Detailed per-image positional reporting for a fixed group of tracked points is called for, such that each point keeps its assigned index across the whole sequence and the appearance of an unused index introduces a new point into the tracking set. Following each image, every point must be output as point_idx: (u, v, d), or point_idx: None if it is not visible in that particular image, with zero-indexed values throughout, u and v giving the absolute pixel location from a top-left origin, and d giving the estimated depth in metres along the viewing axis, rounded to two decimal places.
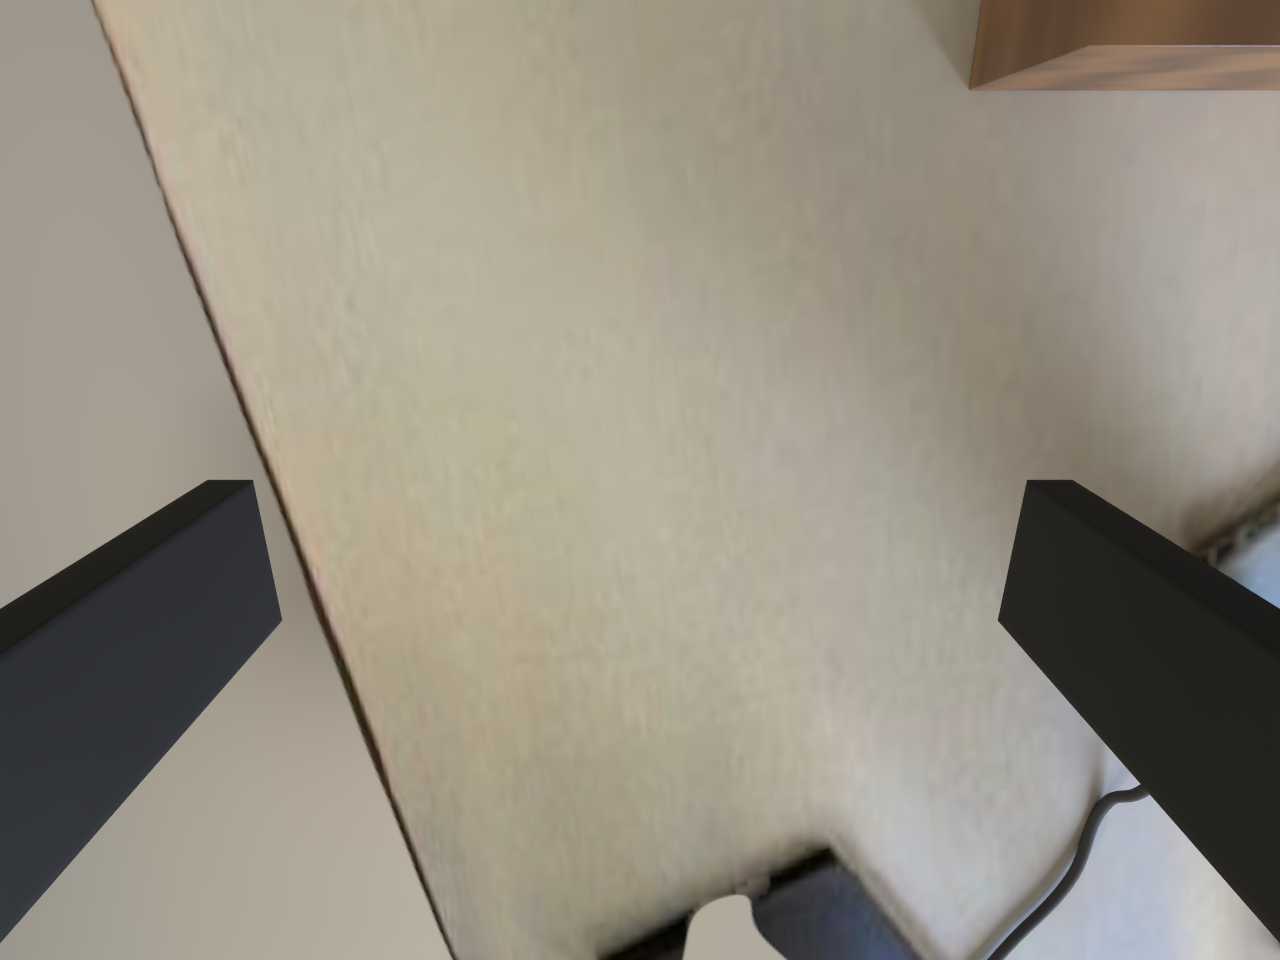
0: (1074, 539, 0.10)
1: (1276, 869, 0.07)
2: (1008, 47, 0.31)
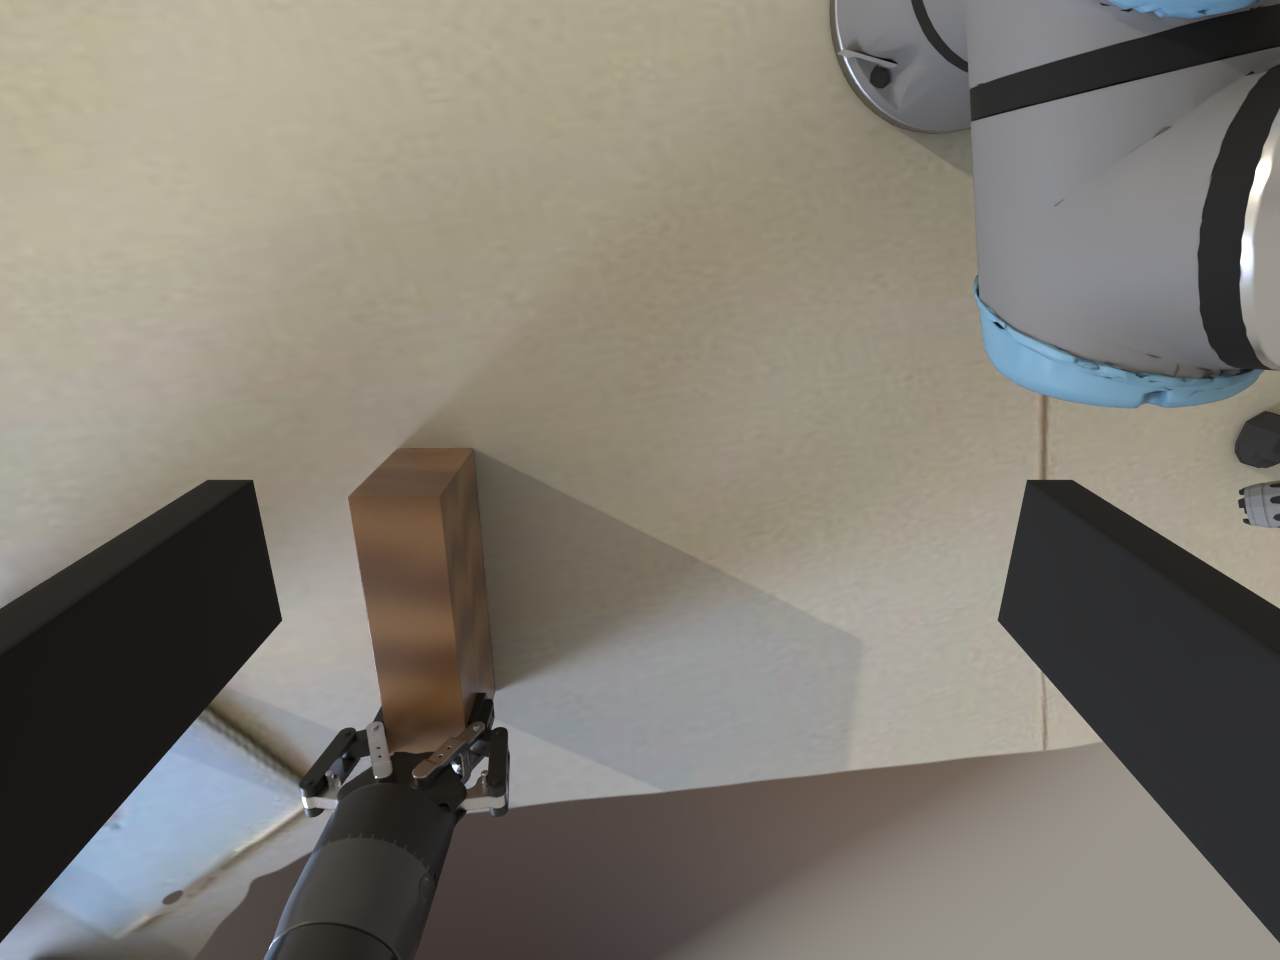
0: (1074, 539, 0.10)
1: (1276, 869, 0.07)
2: (396, 464, 0.51)
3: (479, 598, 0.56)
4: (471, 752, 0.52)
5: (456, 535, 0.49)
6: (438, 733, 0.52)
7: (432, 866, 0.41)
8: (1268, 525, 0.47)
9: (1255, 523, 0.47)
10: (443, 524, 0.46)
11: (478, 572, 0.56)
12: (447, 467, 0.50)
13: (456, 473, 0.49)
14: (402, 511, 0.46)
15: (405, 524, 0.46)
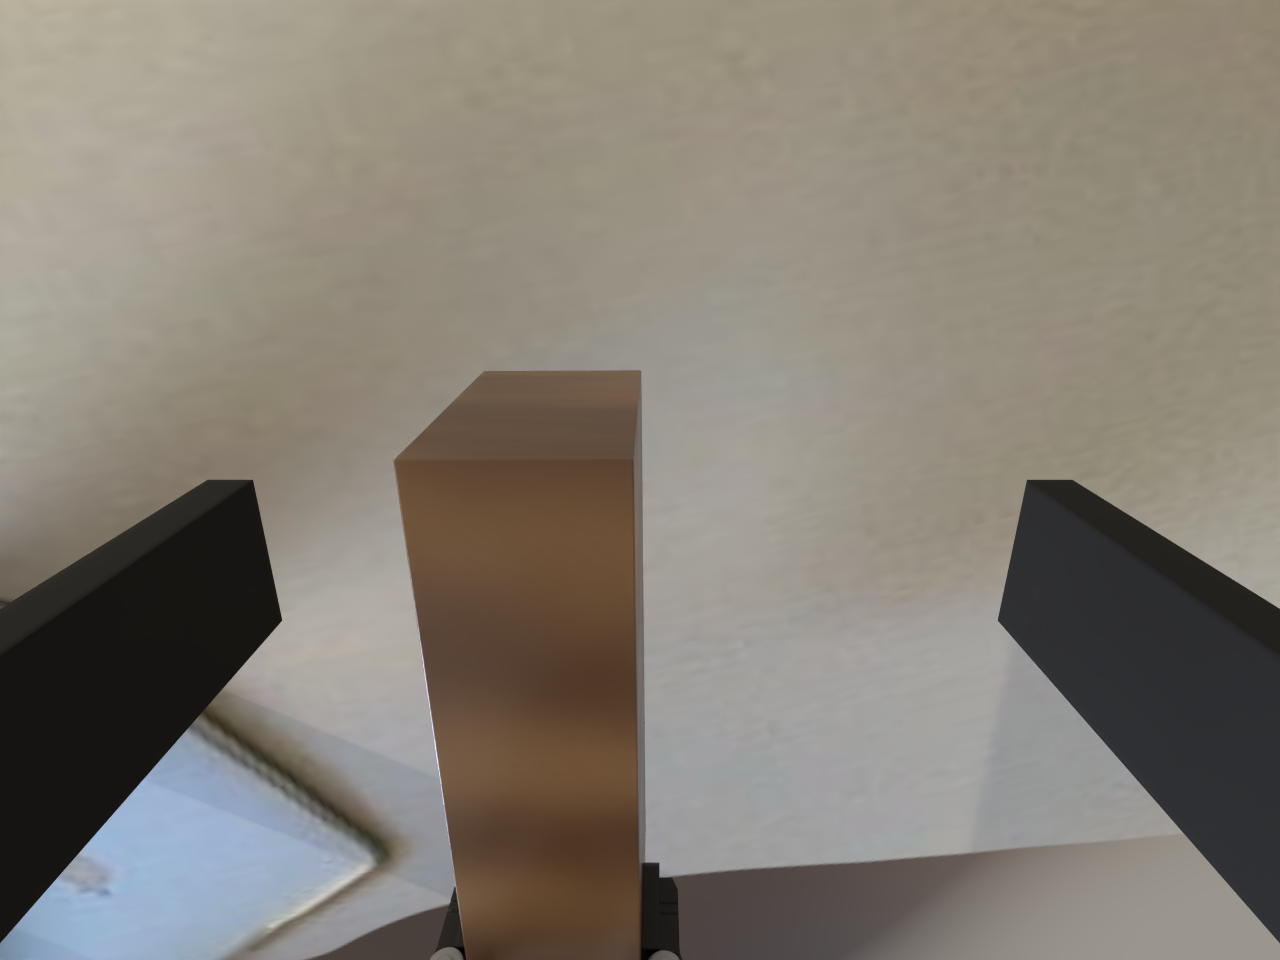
0: (1073, 539, 0.10)
1: (1275, 869, 0.07)
2: (493, 395, 0.23)
3: None
4: None
5: None
6: None
7: None
8: None
9: None
10: (634, 533, 0.18)
11: (642, 622, 0.28)
12: (609, 400, 0.22)
13: (637, 411, 0.21)
14: (533, 498, 0.18)
15: (537, 530, 0.18)
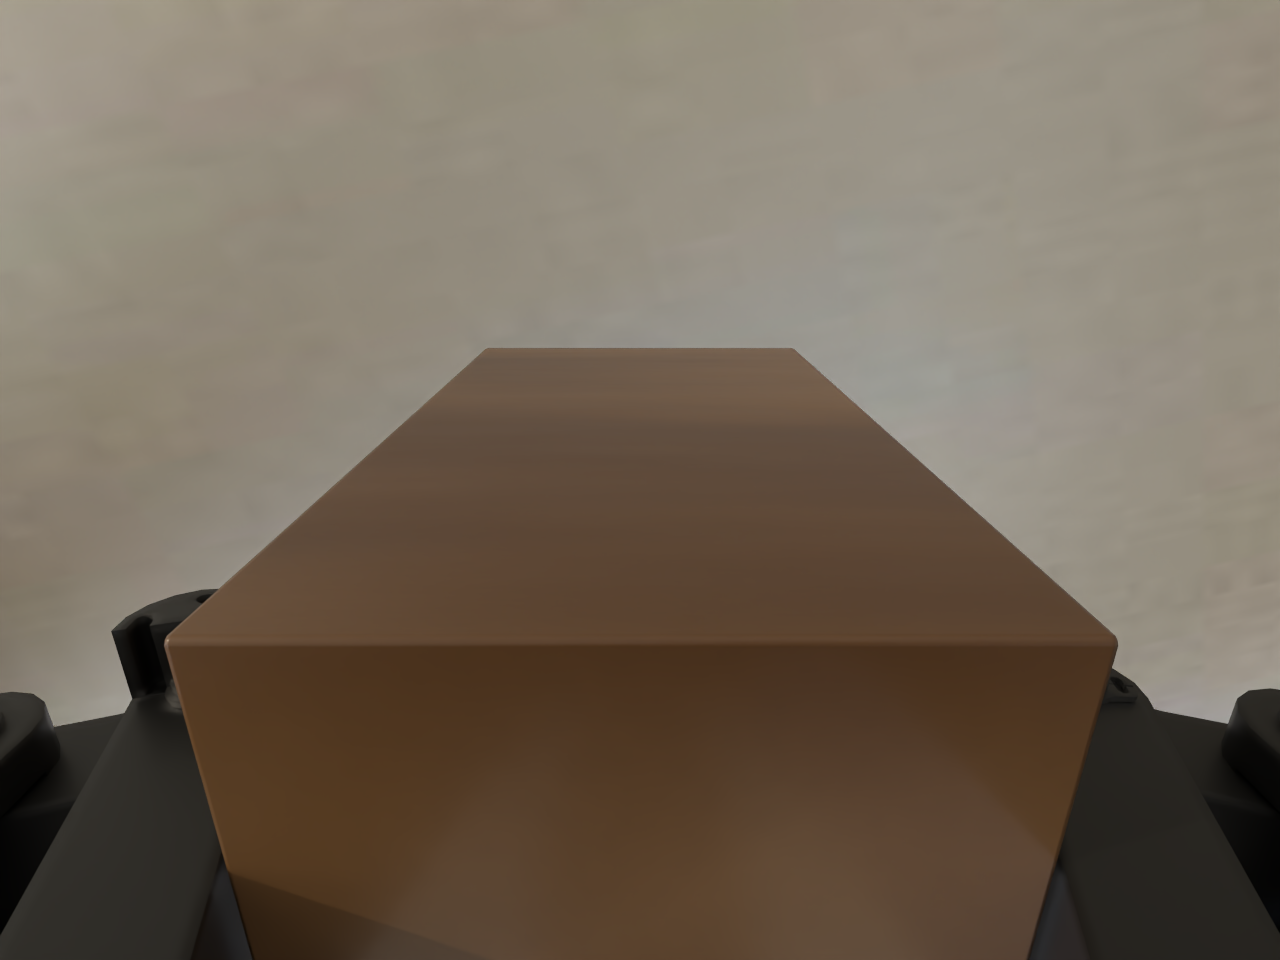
0: None
1: None
2: (513, 393, 0.10)
3: None
4: None
5: None
6: None
7: None
8: None
9: None
10: (1039, 862, 0.05)
11: None
12: (793, 406, 0.09)
13: (888, 434, 0.08)
14: (708, 770, 0.05)
15: (709, 870, 0.05)
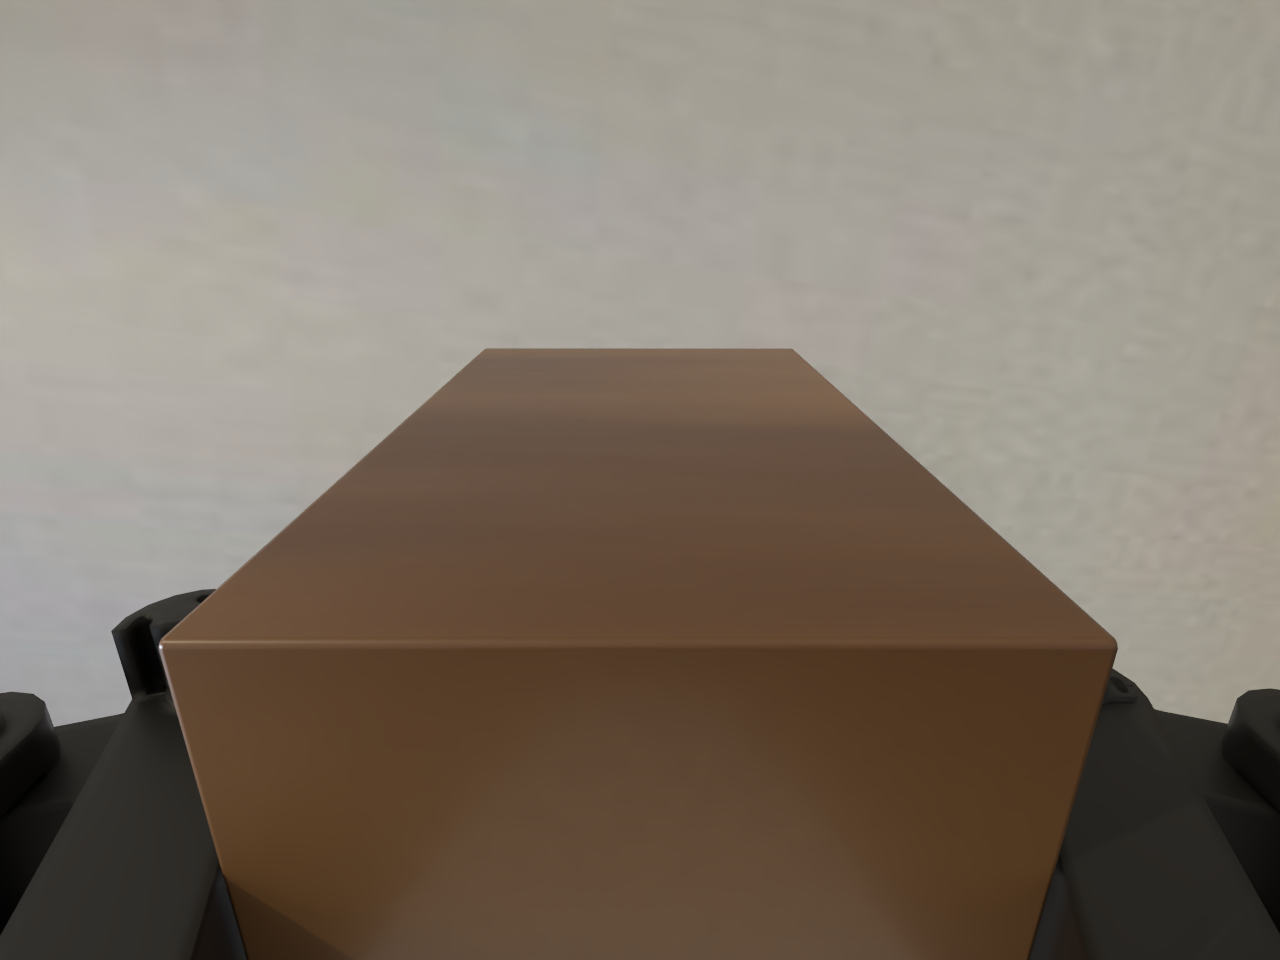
0: None
1: None
2: (511, 393, 0.10)
3: None
4: None
5: None
6: None
7: None
8: None
9: None
10: (1038, 866, 0.05)
11: None
12: (792, 406, 0.09)
13: (887, 435, 0.08)
14: (706, 773, 0.05)
15: (706, 873, 0.05)
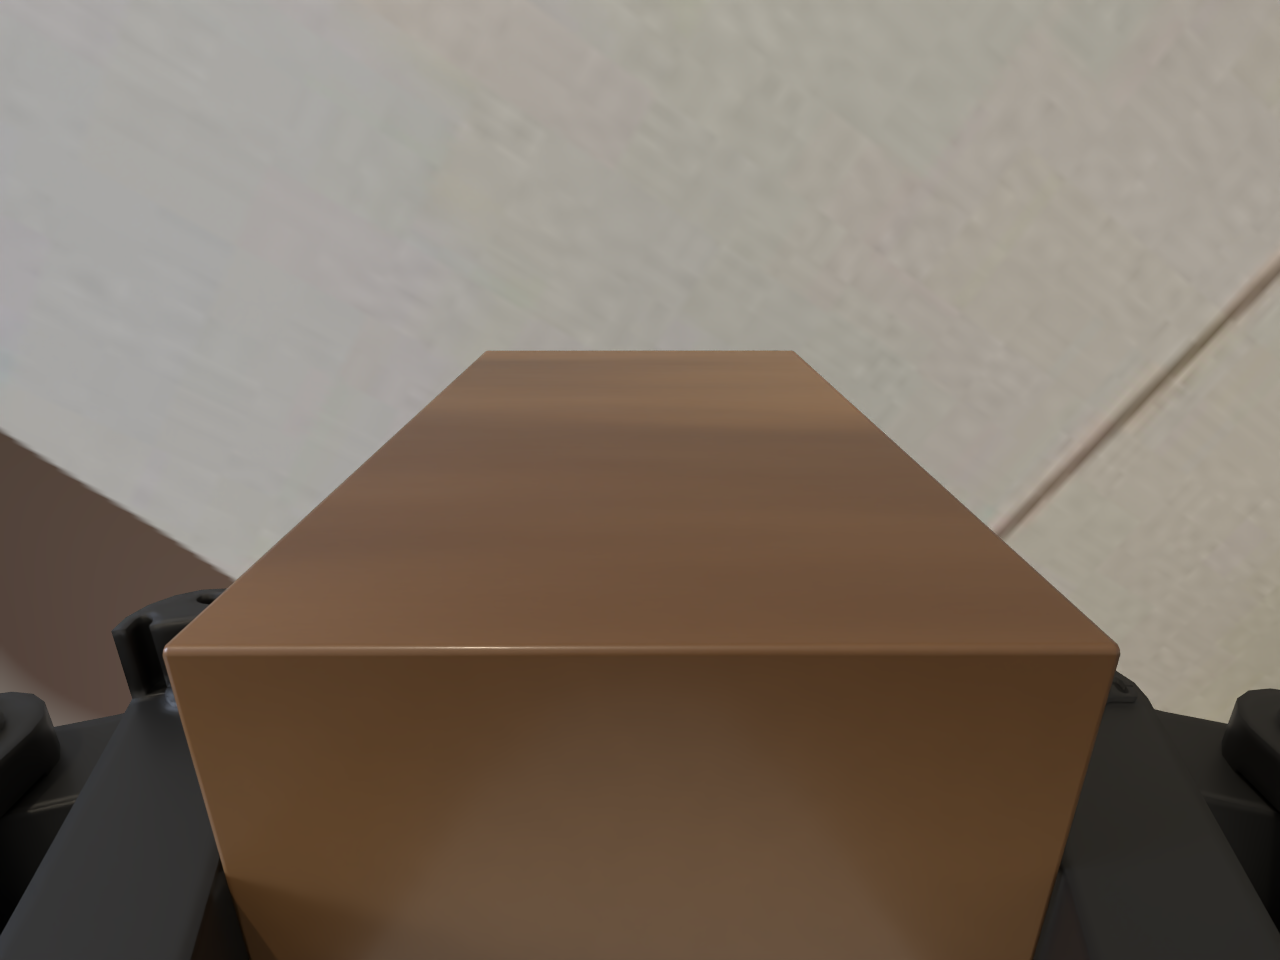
0: None
1: None
2: (513, 397, 0.10)
3: None
4: None
5: None
6: None
7: None
8: None
9: None
10: (1040, 869, 0.05)
11: None
12: (793, 409, 0.09)
13: None
14: (709, 779, 0.05)
15: (709, 881, 0.05)
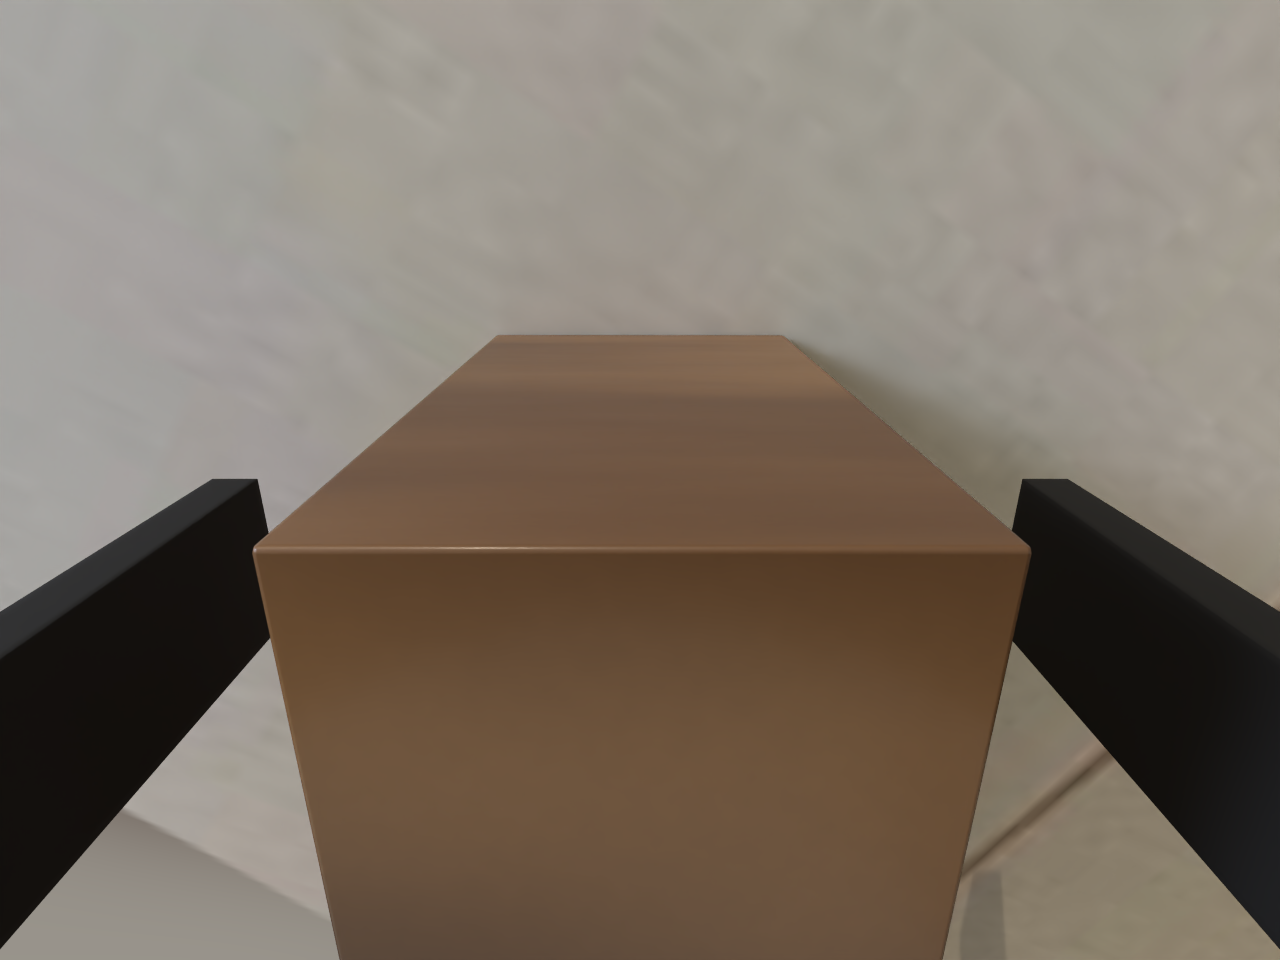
0: (1068, 538, 0.10)
1: (1267, 865, 0.07)
2: (525, 372, 0.11)
3: None
4: None
5: None
6: None
7: None
8: None
9: None
10: (976, 749, 0.06)
11: None
12: (779, 382, 0.10)
13: (862, 404, 0.09)
14: (697, 662, 0.06)
15: (698, 751, 0.06)
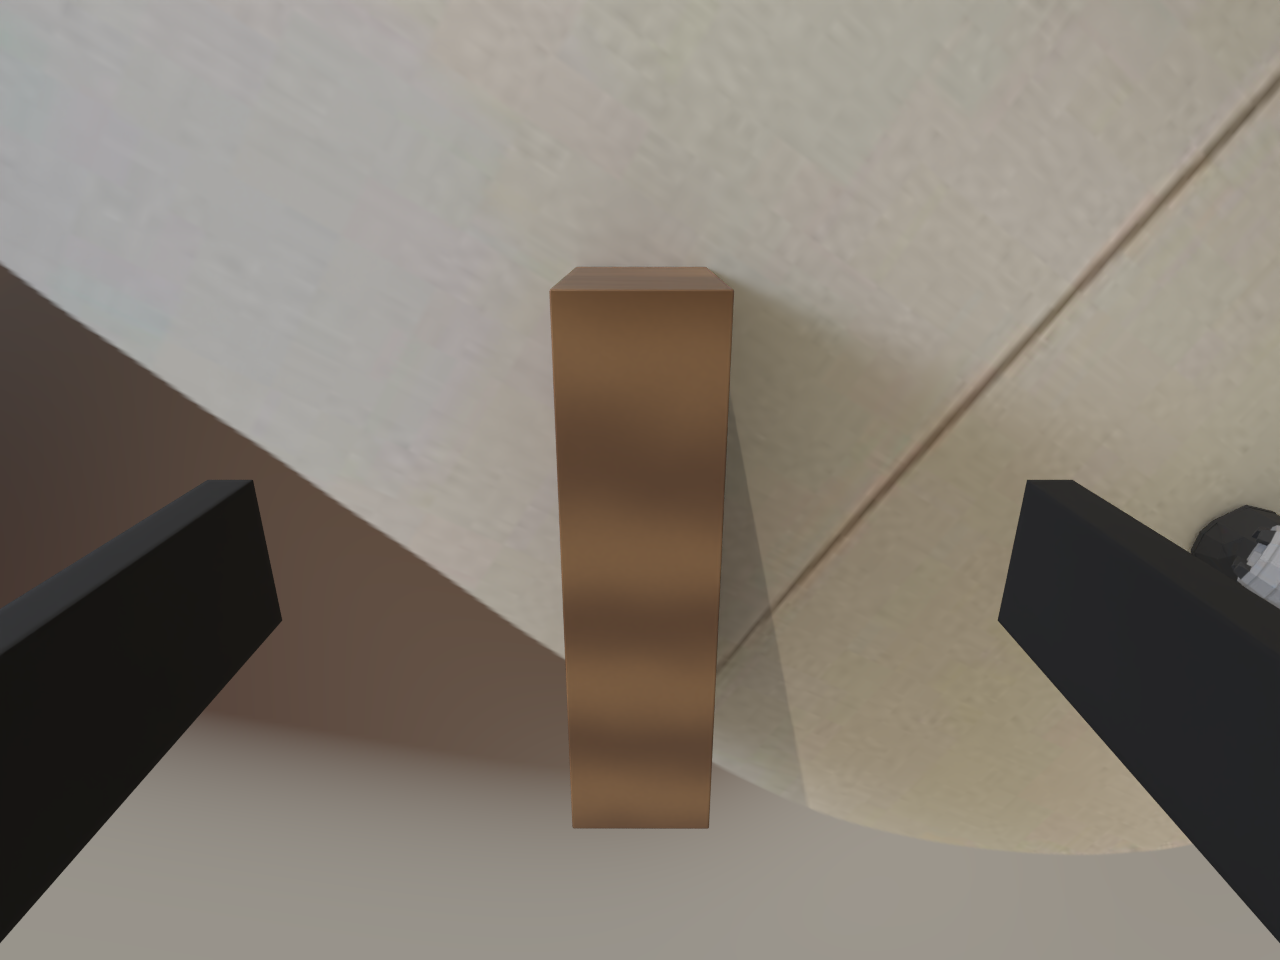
0: (1074, 539, 0.10)
1: (1276, 869, 0.07)
2: (596, 273, 0.28)
3: None
4: None
5: None
6: (663, 757, 0.29)
7: None
8: (1275, 587, 0.27)
9: (1258, 574, 0.27)
10: (730, 353, 0.23)
11: None
12: (693, 274, 0.28)
13: (719, 278, 0.27)
14: (655, 321, 0.23)
15: (656, 349, 0.23)
